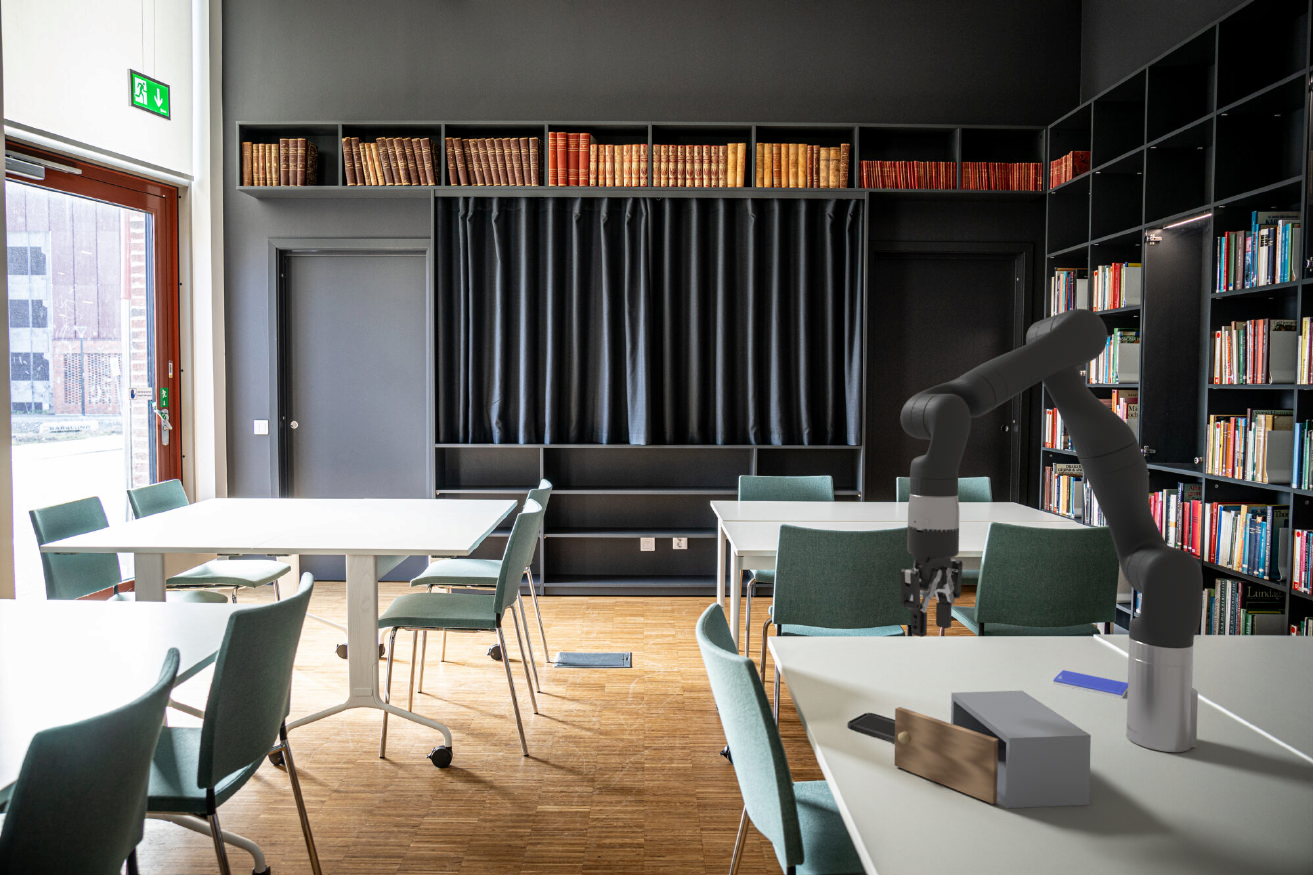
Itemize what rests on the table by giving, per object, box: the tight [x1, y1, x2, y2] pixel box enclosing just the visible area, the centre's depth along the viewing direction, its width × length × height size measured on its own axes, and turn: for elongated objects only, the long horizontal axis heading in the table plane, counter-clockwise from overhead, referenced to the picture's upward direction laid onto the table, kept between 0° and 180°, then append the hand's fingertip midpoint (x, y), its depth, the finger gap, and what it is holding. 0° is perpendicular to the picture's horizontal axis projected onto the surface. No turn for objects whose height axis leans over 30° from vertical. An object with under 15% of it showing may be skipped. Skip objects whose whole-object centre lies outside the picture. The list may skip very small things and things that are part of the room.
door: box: [893, 706, 998, 805], centre depth 120 cm, size 16×2×9 cm, turn 40°
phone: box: [847, 712, 895, 745], centre depth 139 cm, size 8×1×15 cm
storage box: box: [950, 690, 1092, 809], centre depth 123 cm, size 12×18×10 cm, turn 5°
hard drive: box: [1052, 669, 1128, 699], centre depth 164 cm, size 2×8×12 cm
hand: (931, 630), depth 125 cm, fingers open, 6 cm apart
